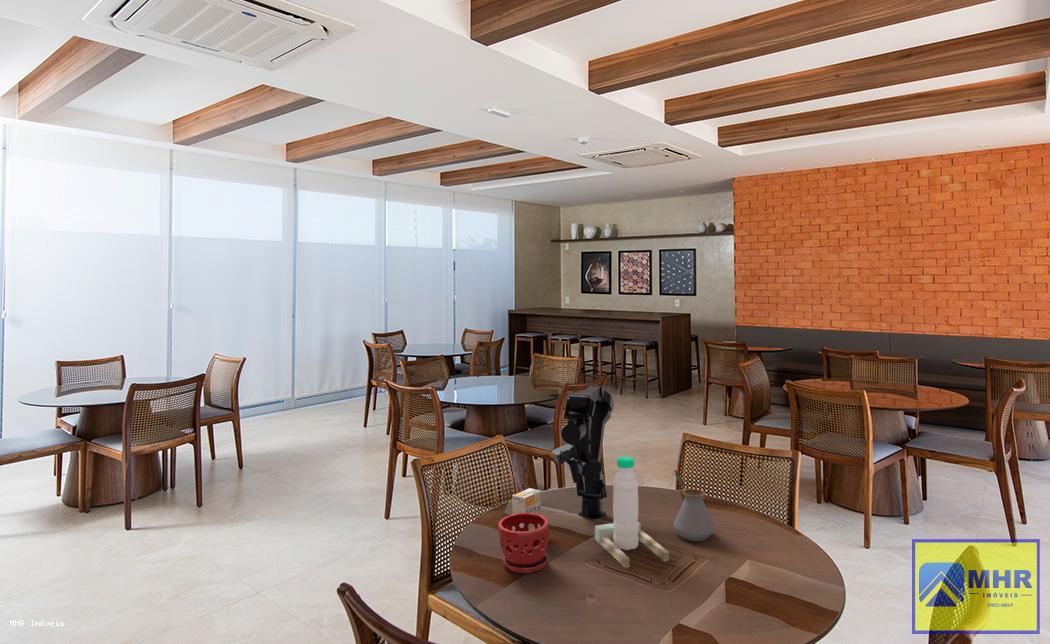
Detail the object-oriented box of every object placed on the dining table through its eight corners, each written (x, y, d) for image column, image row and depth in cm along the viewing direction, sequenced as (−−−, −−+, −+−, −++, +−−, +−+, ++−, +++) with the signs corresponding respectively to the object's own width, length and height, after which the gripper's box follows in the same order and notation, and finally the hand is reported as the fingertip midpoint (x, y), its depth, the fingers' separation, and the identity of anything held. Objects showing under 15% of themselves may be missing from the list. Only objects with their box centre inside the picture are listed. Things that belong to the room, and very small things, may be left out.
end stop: (595, 539, 172) (594, 525, 172) (635, 533, 176) (635, 520, 176) (599, 543, 170) (599, 529, 169) (640, 537, 173) (640, 524, 173)
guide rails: (599, 543, 170) (599, 534, 169) (640, 537, 173) (640, 529, 173) (624, 568, 154) (624, 559, 154) (669, 561, 158) (669, 552, 158)
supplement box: (525, 543, 170) (524, 498, 169) (512, 539, 173) (511, 494, 172) (542, 533, 177) (541, 490, 176) (529, 529, 180) (528, 487, 179)
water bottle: (638, 552, 164) (638, 462, 162) (612, 550, 165) (612, 461, 164) (638, 541, 171) (638, 455, 169) (613, 539, 172) (613, 454, 171)
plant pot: (520, 550, 166) (520, 508, 165) (559, 563, 157) (558, 519, 157) (488, 567, 156) (488, 522, 155) (527, 583, 147) (527, 535, 147)
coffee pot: (721, 543, 169) (721, 490, 168) (681, 545, 168) (682, 492, 167) (692, 514, 190) (692, 468, 189) (657, 516, 189) (657, 469, 188)
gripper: (544, 431, 184) (545, 480, 185) (566, 446, 166) (566, 501, 167) (578, 428, 187) (578, 477, 188) (603, 442, 169) (603, 496, 170)
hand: (580, 487), depth 178 cm, fingers open, 9 cm apart
